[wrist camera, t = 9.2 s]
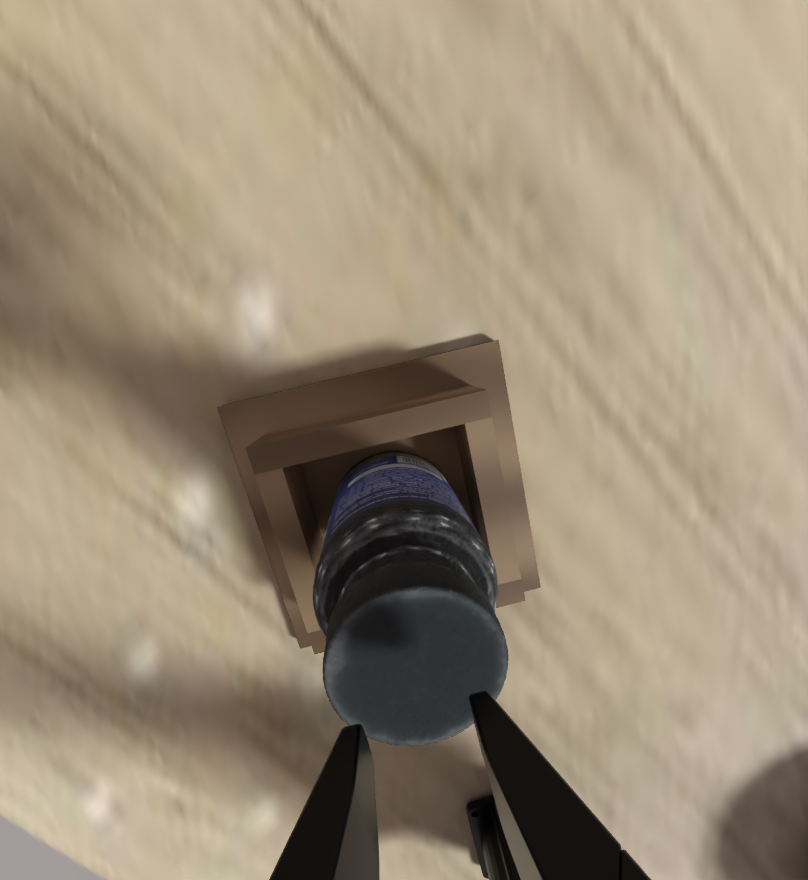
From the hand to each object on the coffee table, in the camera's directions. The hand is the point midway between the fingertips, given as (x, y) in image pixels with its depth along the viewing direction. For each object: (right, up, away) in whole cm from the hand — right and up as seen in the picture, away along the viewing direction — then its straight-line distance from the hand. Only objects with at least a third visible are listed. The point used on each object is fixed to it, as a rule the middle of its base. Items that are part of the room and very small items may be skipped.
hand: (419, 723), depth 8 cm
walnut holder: (-1, +3, +13) cm, 13 cm away
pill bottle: (-1, +3, +12) cm, 13 cm away
